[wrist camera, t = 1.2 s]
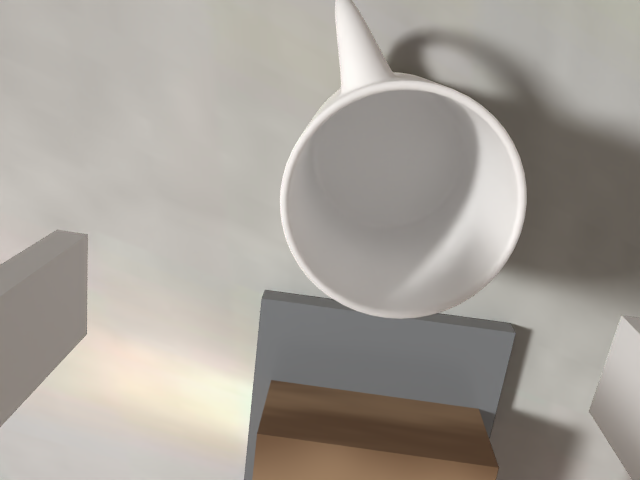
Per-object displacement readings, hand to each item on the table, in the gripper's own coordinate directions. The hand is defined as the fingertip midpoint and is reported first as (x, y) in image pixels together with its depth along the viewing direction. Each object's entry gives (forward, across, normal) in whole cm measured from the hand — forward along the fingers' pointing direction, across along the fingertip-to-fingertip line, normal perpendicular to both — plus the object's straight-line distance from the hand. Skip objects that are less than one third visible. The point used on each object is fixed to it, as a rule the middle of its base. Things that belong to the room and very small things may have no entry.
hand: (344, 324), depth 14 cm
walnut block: (+16, +3, -18) cm, 24 cm away
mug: (+18, +1, +3) cm, 18 cm away
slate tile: (+17, +3, -16) cm, 24 cm away
